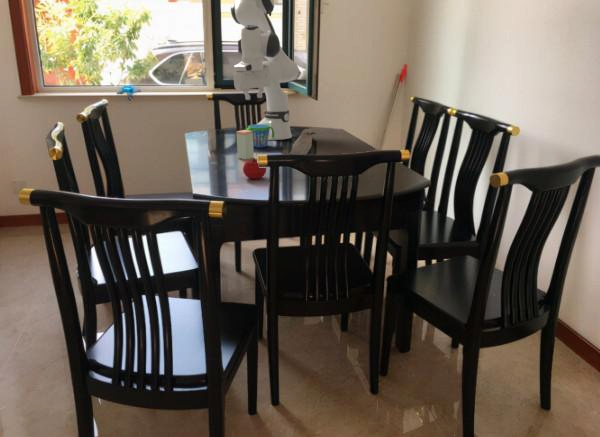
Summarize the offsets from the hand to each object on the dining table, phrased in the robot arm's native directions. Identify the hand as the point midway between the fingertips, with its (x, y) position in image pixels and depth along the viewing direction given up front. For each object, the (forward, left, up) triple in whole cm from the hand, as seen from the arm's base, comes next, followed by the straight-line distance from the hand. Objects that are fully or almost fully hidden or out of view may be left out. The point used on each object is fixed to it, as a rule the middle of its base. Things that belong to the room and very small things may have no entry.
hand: (253, 98), depth 223 cm
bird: (+27, -2, -25) cm, 37 cm away
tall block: (0, -7, -25) cm, 26 cm away
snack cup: (-11, +15, -25) cm, 31 cm away
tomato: (+26, -30, -25) cm, 47 cm away
